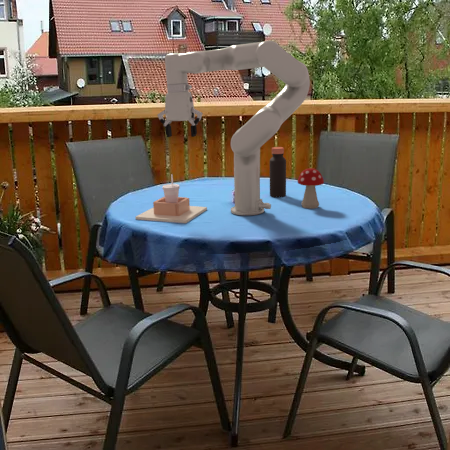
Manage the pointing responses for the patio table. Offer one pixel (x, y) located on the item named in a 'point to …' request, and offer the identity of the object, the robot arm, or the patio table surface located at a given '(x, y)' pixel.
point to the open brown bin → (172, 211)
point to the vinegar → (277, 173)
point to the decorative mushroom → (310, 187)
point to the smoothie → (171, 192)
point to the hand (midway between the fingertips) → (181, 136)
